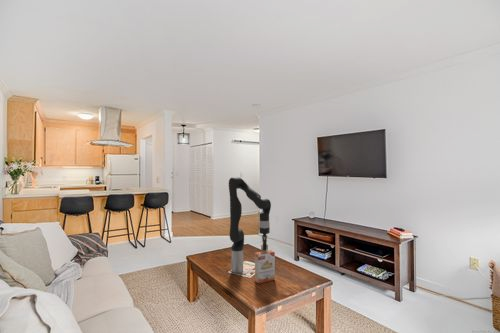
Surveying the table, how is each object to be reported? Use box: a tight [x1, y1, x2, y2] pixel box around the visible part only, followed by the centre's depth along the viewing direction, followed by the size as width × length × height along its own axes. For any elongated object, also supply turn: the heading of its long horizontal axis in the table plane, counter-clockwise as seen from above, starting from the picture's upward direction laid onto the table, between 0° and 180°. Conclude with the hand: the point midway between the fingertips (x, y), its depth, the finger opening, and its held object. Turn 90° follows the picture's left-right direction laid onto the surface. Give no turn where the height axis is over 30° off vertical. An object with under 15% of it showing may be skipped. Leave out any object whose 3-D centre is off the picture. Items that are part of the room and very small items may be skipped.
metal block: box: [260, 242, 269, 253], centre depth 192 cm, size 5×5×6 cm
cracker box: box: [254, 249, 276, 284], centre depth 192 cm, size 14×6×21 cm, turn 117°
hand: (264, 248), depth 192 cm, fingers open, 8 cm apart
